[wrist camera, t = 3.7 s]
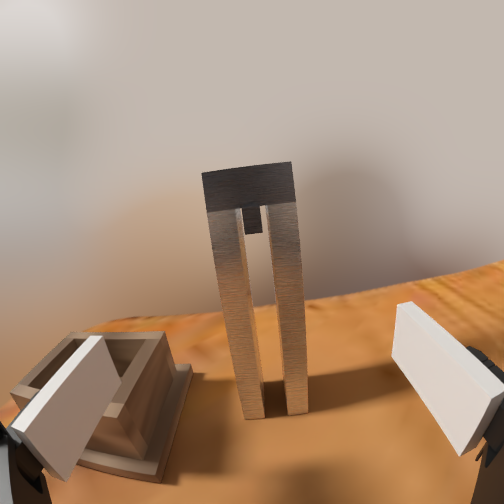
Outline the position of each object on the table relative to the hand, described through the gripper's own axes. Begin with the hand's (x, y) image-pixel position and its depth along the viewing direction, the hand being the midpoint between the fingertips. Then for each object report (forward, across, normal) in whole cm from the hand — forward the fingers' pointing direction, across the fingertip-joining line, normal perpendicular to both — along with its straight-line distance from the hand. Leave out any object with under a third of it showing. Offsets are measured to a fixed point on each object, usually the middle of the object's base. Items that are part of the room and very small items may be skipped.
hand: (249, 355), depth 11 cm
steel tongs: (+6, +1, -8) cm, 10 cm away
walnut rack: (+4, -12, -8) cm, 15 cm away
